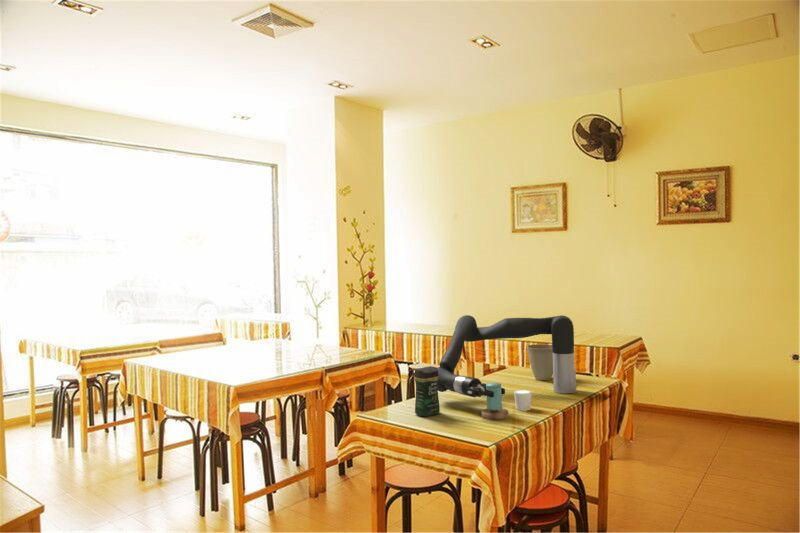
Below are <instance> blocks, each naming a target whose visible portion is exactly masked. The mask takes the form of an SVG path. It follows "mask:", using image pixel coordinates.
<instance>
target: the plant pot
mask: <svg viewBox="0 0 800 533" xmlns="http://www.w3.org/2000/svg"><path fill="white" fill-rule="evenodd" d="M526 352H527V356H528V360H529V364H530V369H531V372H532V374H533V377H534V379H535V380H536V381H542V380H546V381H550V380H551V379H552V377H553V355H552V344H549V343H548V344H547V343H543V344H542V343H541V344H528V345H526Z"/></svg>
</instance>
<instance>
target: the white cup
mask: <svg viewBox="0 0 800 533" xmlns="http://www.w3.org/2000/svg"><path fill="white" fill-rule="evenodd" d="M513 394H514V402H515V403H514V404H515V410H516V409H517V410H516V411H519V410H520V411H519V412H527V410H529V411H531V409H532V408H531V406H532V391H531V390H528V389H517V390H514V391H513Z"/></svg>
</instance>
